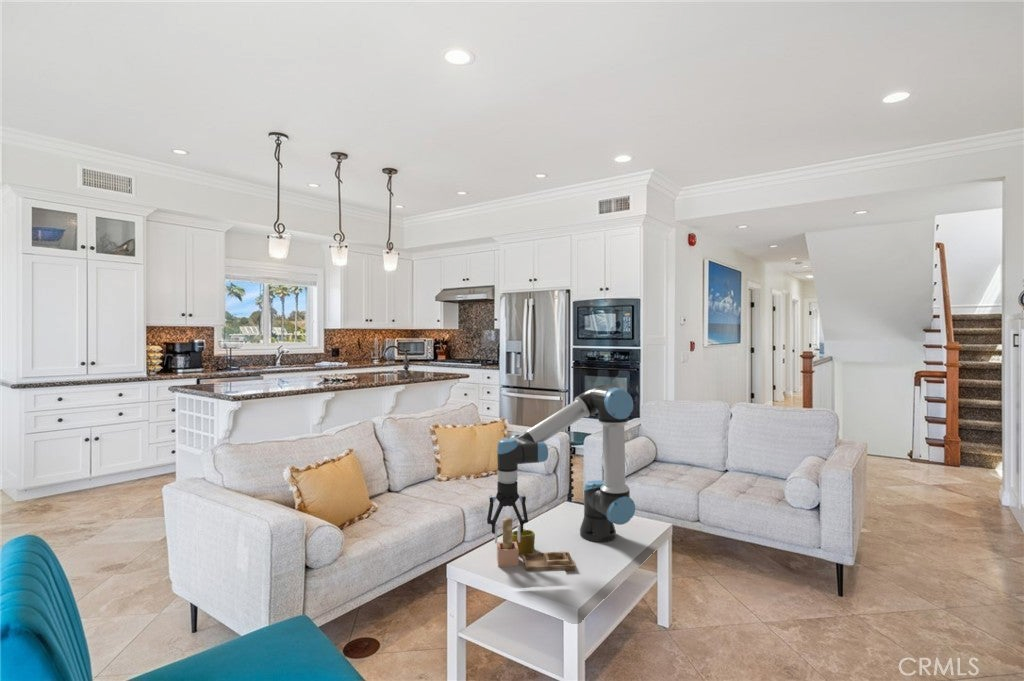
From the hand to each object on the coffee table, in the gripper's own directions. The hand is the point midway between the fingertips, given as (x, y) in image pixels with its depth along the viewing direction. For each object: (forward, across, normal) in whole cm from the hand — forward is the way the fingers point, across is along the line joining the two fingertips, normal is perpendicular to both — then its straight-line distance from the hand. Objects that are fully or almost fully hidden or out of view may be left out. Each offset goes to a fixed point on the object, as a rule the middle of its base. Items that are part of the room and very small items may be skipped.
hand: (507, 541), depth 201 cm
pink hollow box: (+9, 0, 0) cm, 9 cm away
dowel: (+8, 0, 0) cm, 8 cm away
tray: (+9, -15, +2) cm, 17 cm away
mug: (+9, -7, -12) cm, 16 cm away
